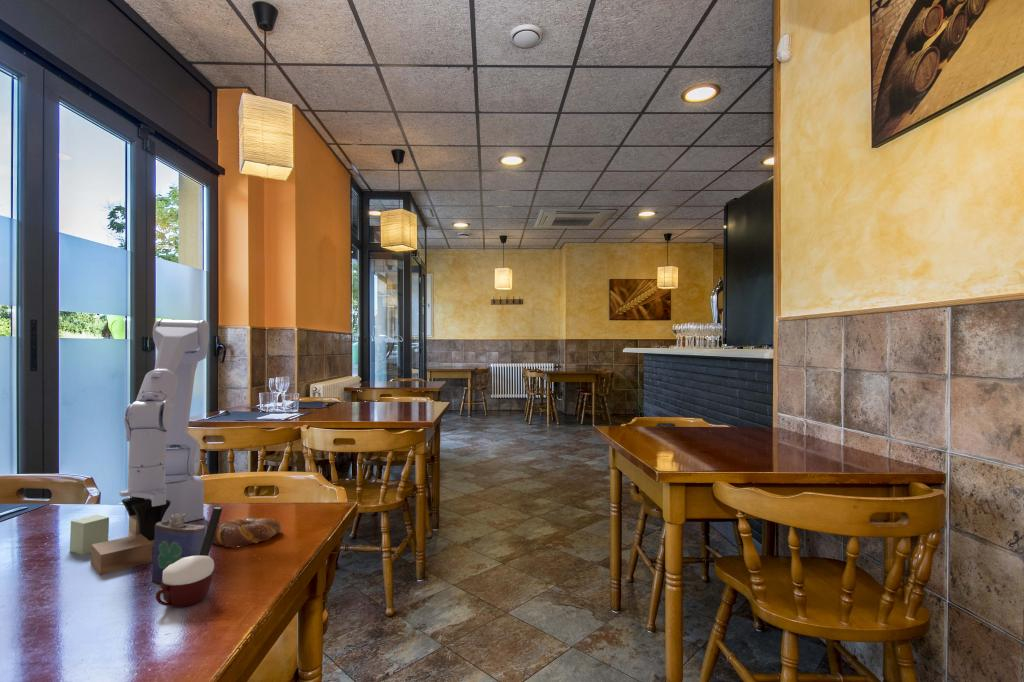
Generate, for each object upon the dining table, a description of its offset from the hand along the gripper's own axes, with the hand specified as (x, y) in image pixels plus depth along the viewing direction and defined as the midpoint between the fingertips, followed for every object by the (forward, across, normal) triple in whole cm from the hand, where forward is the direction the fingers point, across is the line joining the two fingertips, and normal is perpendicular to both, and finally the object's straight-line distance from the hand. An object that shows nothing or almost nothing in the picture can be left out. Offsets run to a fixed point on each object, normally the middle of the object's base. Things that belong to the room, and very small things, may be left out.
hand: (144, 537), depth 95 cm
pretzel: (+2, +10, +14) cm, 18 cm away
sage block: (+2, -6, -7) cm, 9 cm away
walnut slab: (+2, +7, -5) cm, 9 cm away
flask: (+2, +22, -2) cm, 23 cm away
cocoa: (+2, +30, -3) cm, 31 cm away
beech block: (+1, 0, 0) cm, 1 cm away
